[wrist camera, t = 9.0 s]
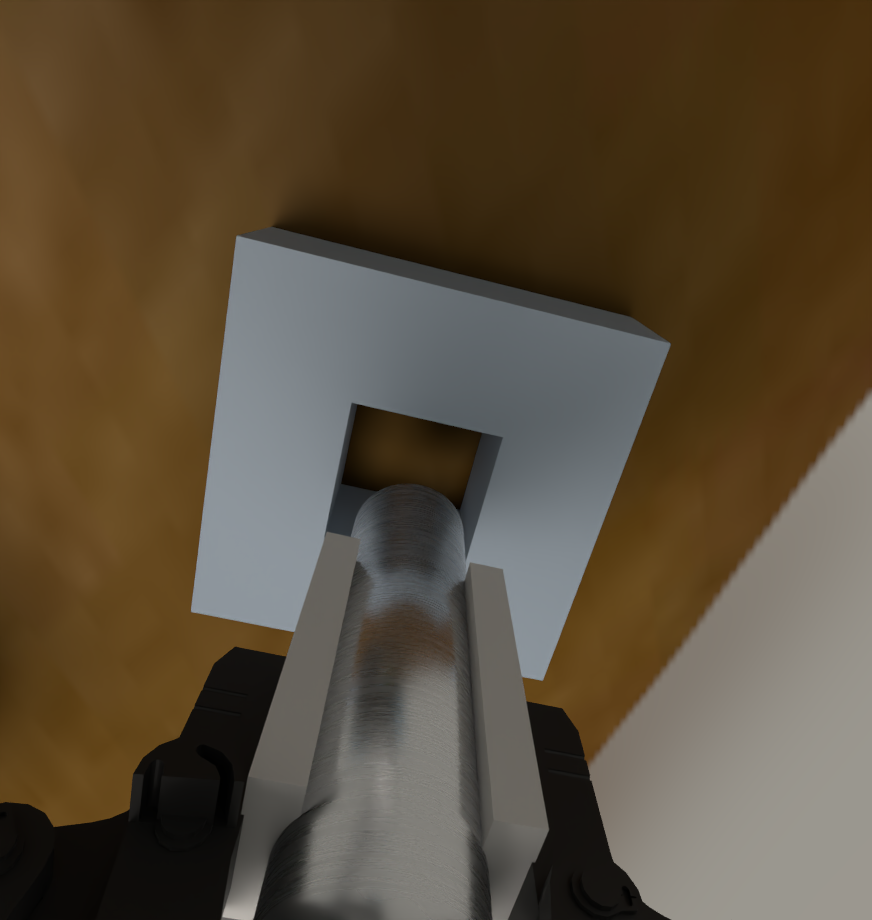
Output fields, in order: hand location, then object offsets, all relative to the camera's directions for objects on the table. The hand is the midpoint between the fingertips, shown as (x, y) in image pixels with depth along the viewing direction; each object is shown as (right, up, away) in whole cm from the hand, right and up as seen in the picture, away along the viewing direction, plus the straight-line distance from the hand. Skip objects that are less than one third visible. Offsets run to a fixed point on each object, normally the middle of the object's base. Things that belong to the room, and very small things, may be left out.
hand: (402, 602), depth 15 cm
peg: (0, +1, +3) cm, 3 cm away
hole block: (0, +4, +9) cm, 10 cm away
